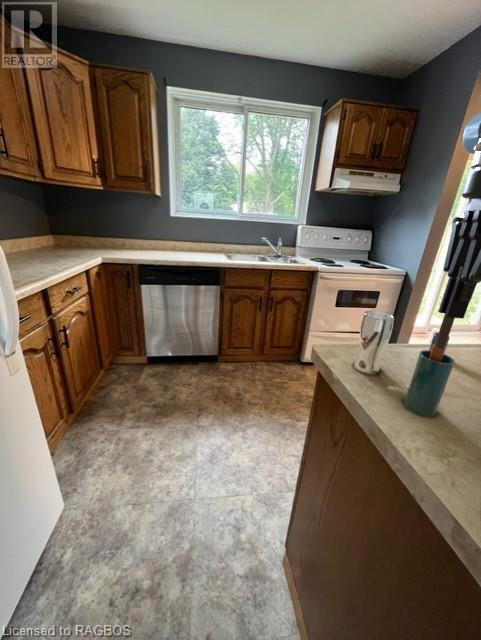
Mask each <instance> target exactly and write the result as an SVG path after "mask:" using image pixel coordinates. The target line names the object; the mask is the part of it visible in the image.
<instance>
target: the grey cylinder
mask: <svg viewBox="0 0 481 640" xmlns="http://www.w3.org/2000/svg"><path fill="white" fill-rule="evenodd" d="M438 333H439V332H434V334H433V337H432V340H431V343H430V346H429V349H428V350H430V351H431V350H432V347H433V345H434V344H435V342H436V339H437V336H438ZM450 339H451V338H450V335H449V336H448V339H447V342H446V345H445V347H446V349H447V346H448V344H449V340H450ZM446 349H445V351H446Z"/></svg>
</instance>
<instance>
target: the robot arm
mask: <svg viewBox="0 0 481 640" xmlns="http://www.w3.org/2000/svg"><path fill="white" fill-rule="evenodd" d="M462 145H463V148H464V149H465V151H466V152H468V153H469V154H472V155H473V158H472V162H471V164H470V169H471V170H472V171H471V172H470V173H468V175H467V177H466V180H465V182H464V186H463V190H462V193H461V197H462V198H463V199H468V200H469V201H468V203H467V206H466V207H465V209H464V211H463V214H462V215H461V216H454V217H452V220H451V233H450V237H449V242H448V247H447V251H446V255H445V260H444V263H443V264H444V265H443V270H442V271H443V272H445V273H447V277H448V281H447V283H446V286H445V288H444V293H443V296H442V299H441V301H440V305H439V308H438V311H437V312H438V313H440V314H444V315H445V316H446V317H451V318H455V319H465V317H466V316H465V315H466V312H467V311H468V307H469V305H470V302H471V300H472V298H473V295H474V292H475V290H476V287H477V284H479V283H481V112H479V113H477V114H476V115H474V116H473V117H472V118H471V119H470V120H469V121H468V122H467V124H466V126H465V127H464V131H463V134H462ZM460 267H464V269H463V272H462V276H461V278H459V277H457V276H458V273H459V270H460ZM455 282H456V283H455ZM454 285H455V286H454ZM453 288H454V289H453ZM452 291H453V292H452ZM451 294H452V295H451ZM450 297H451V298H450ZM449 300H450V301H449ZM448 303H449V304H448ZM447 306H448V307H447ZM446 309H447V310H446ZM445 312H446V313H445Z"/></svg>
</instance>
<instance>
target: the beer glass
mask: <svg viewBox="0 0 481 640" xmlns="http://www.w3.org/2000/svg"><path fill="white" fill-rule="evenodd" d="M394 321H395V316H394V315H393V314H391V313H388V312H385V311H381V310H366V311H364V315H363V318H362V321H361V324H360V328H359V337H358V341H359V342H358V355H357V358H356V360H355V362H354V368H355V370H357V371H358V372H361V373H363V374H366V375H377V374H379V372H380V370H381V369H380V368H381V366H380V365H381V359H382V356H383V355H384V353H385V350H386V348H387V347H388V344H389V342H390V339H391V336H392V332H393V327H394V323H395V322H394Z"/></svg>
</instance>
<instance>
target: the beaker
mask: <svg viewBox="0 0 481 640" xmlns="http://www.w3.org/2000/svg"><path fill="white" fill-rule="evenodd" d="M430 353H431V351H430V350H429V349H427V350H426V349H425V350H421V351H419V354H418V357H417V359H416V363H415V367H414V370H413V373H412V376H411V379H410V383H409V386H408V389H407V392H406V396H405V399H404V405H405V407H406V408H407V409H408V410H409V411H411V412H413V413H415V414H417V415H420V416H423V417H434V416H435V415H436V414H437V412H438V409H439V407H440V404H441V401H442V398H443V395H444V392H445V391H446V388H447V385H448V382H449V380H450V376H451V374H452V371H453V368H454V365H455V363H456V361H455V359H454V358H453V357H452V356H449V355H448V354H446V353H444V355H443V358H442V361H441V363H440V362H436V361H433V360H430V359H429V356H430Z"/></svg>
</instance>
